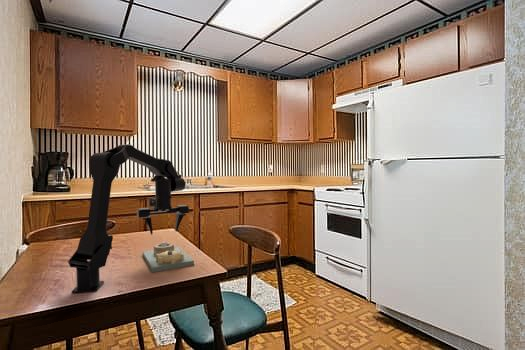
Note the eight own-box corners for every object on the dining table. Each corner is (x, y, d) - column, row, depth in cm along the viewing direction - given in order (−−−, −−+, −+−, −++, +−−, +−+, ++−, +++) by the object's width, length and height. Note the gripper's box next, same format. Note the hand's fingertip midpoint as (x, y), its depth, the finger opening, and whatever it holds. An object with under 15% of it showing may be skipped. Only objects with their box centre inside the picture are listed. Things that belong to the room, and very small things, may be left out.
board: (193, 264, 104) (193, 252, 103) (152, 272, 96) (152, 258, 96) (178, 249, 123) (178, 239, 122) (142, 255, 116) (142, 244, 115)
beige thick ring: (175, 253, 112) (175, 245, 112) (156, 256, 109) (156, 248, 109) (171, 249, 118) (171, 241, 118) (153, 252, 115) (152, 244, 115)
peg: (166, 253, 113) (166, 243, 112) (161, 253, 112) (160, 243, 112) (167, 251, 115) (167, 241, 114) (161, 252, 114) (161, 242, 114)
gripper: (181, 190, 125) (182, 226, 125) (134, 192, 115) (135, 232, 116) (189, 192, 115) (190, 231, 115) (138, 195, 106) (139, 237, 106)
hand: (164, 232), depth 113 cm, fingers open, 9 cm apart
